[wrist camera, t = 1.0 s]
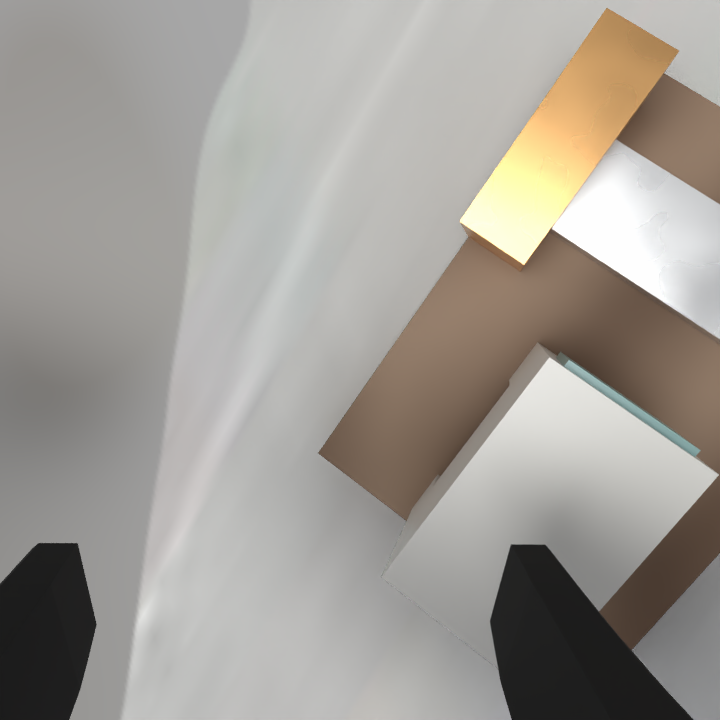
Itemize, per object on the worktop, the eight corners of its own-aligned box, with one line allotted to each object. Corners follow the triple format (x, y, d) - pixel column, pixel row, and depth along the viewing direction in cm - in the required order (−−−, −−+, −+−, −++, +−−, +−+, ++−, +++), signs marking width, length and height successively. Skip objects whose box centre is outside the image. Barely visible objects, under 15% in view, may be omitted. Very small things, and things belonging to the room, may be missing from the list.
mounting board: (943, 267, 18) (982, 264, 17) (601, 649, 22) (608, 675, 20) (599, 58, 20) (606, 38, 18) (330, 443, 23) (318, 453, 22)
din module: (663, 421, 19) (725, 467, 14) (522, 591, 21) (527, 693, 15) (541, 337, 20) (554, 350, 14) (412, 508, 21) (381, 577, 16)
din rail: (954, 295, 17) (1086, 293, 13) (801, 462, 18) (881, 505, 14) (585, 68, 19) (607, 7, 15) (468, 237, 20) (459, 221, 16)
